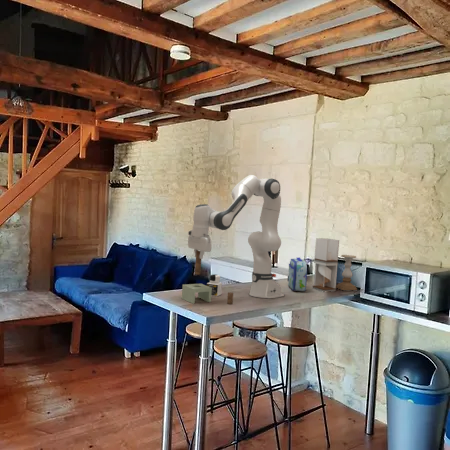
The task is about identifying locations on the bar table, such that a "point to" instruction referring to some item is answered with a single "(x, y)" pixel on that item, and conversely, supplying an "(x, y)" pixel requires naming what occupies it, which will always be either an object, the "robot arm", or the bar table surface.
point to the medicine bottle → (215, 285)
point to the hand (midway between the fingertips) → (198, 257)
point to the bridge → (190, 290)
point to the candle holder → (347, 275)
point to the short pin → (230, 298)
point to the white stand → (326, 264)
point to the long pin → (198, 263)
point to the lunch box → (297, 274)
